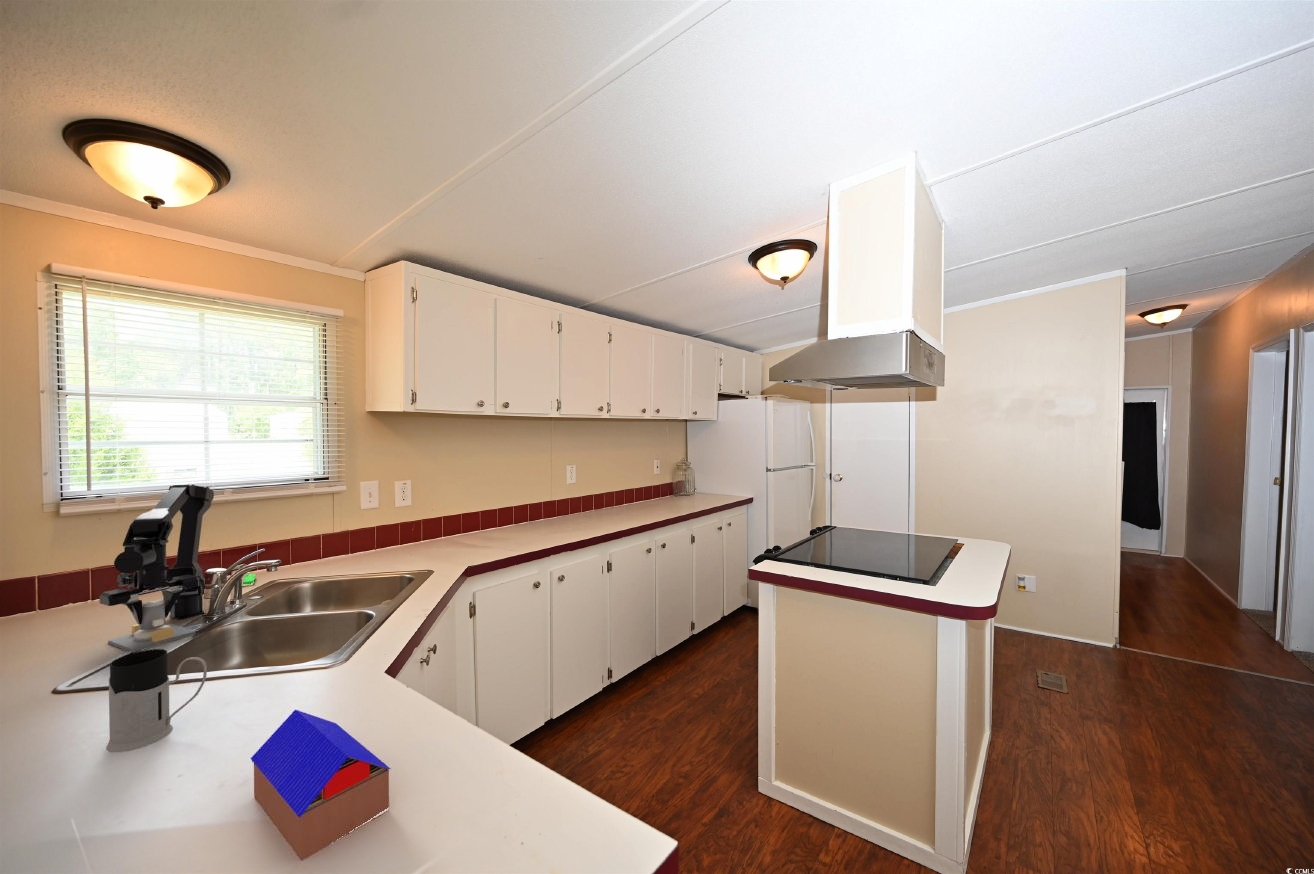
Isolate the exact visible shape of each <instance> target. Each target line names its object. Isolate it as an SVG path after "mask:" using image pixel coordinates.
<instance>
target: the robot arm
mask: <svg viewBox="0 0 1314 874" xmlns="http://www.w3.org/2000/svg"><path fill="white" fill-rule="evenodd" d="M214 498H215V492H214V490H213V489H211V488H210V487H209V486H200V485H195V484H191V483H174V484H171V485H169V487H168V490H167V492H166V493H165V495H164V496H163V497H162V498H161V499H160V500H159V501H158V502H157V504H156V505H155V506H154V507H153V508H152V509H151V510H149V511H146V512H144V513H141V514H140V515H138V516H137V517H136V518H135V519H134V520H132V522H131V523H130V525H129V528H128V530H127V533H126V535H125V538H124V540H123V542H122V547H124V549H123V551H122V552H121V553H119V554H117V556H116V557H115V559H114V561H113V564H114V565H113V566H114V568H115V569H116V570H117V571H118V572H120V573H119V574H117V578H116V579H117V581H116V582H117V586H118V587H125V586H127V589H125V588H118V589H117V588H116V589H112V590H107V591H103V592H102V593H101V594H100V595H99V604H101V605H103V606H104V605H105V606H108V607H113V606H118V605H123V606H126V607H127V608H128V610H129V611H130V612H131V614H132V616H133V618H134V620H135V622H136V624H139V625H140V624H142V603H143V600H141V599H139V597H140V596H144V595H148V594H153V593H156V592H160V591H161V593H162V597H163V599H162V600H163V601H164V602H165V619H167V618H168V616H169V618H172V619H175V620H178V621H179V620H180V621H181V620H186V619H190V618H193V617H196V616H200V615H204V614H203V613H204V611H205V610H204V608H203V607H204V605H203V604H204V603H203V602H204V601H203V597H204V596H203V595H205V594H204V589H205V580H206V578H205V577H204V576H203V575H204V573H203V572H204V571H203V569H202V567H201V566H200V565H199V563H198V557H199V548H200V539H201V535H202V533H201V532H202V525H203V524H202V523H203V517H204V515H205V513H207V512H208V510H209V509H210V508H211V506H212V501H213V500H214ZM178 512H180V514H181V516H182V517H181V523H180V532H179V539H178V546H177V553H176V561H175V564H174V565H172V567H171V568H170V567H169V565H167V544H168V543H169V542H170V541H169V536H170V535H171V532H172V530H173V528H174V525H173V521H172V520H173V519H174V517H175V516H176V515H177V514H178ZM129 589H130V590H129Z"/></svg>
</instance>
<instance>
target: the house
mask: <svg viewBox="0 0 1314 874" xmlns="http://www.w3.org/2000/svg"><path fill="white" fill-rule="evenodd" d="M250 760H251V762H252V763H253V797H254V799H255V800H256V801H257V803H258V804H259V806H260V807H261V808H262V810H263V811H264V812H265V813H266V815H267V816H268V818H269V819H270V820H271V822H272V823H273V824H274V825H275V827H276V828H277V830H278V831H279V832H280V834H281V835H282V836H283V838H284V839H285V841H286V842H287V843H288V845H289V846H290V848H292V850H293V851H294V853H295V854H296V855H297V857H298V858H299V859H300V861H304V860H306V859H308V858H309V857H311V856H313V855H315V854H316V853H318V852H320V851H321V849H322V850H323V849H325V848H327V847H329V846H330V845H332V844H333V843H332V842H334V843H335V842H337V841H338V840H337V839H339V838H341V837H342V836H344V835H345V834H347V833H349V832H350V831H352V830H353V829H355V828H356V827H358V826H360V825H362V824H363V823H365V822H367V821H368V820H370V819H371V818H373V817H374V816H376V815H377V814H379V813H380V812H382V811H384V810H385V809H387V808H388V807H389V808H390V774H389V773H390V770H391V771H392V770H393V769H392V768H390V767H389V766H388V765H387V764H386V763H384V762H383V761H382V759H379V757H378V756H376V755H375V754H374V753H373V752H371V751H370V750H369V749H368V748H366V747H365V746H364V745H363V744H362V743H360V742H359V741H358V740H357V739H356V738H354V737H353V736H352V735H351V734H350V733H349V732H347V731H346V730H345V729H343V728H342V726H340V725H339V724H337V723H336V722H333V721H330V720H328V719H324V718H323V717H322V718H321V717H318V716H317V715H312V714H310V713H307V712H304V711H300V710H297V709H294V710H293V711H292V712H291V714H290V715H288V717H287V718H286V719H284V721H283V722H282V723H281V724H280V725H279V726H278V728H276V729H275V731H274V732H273V734H271V735H270V736H269V737H268V738H267V740H266V741H265V742H264V743H263V744H262V745H261V746H260V747H259V748H258V749H257V751H256V752H255V753H254V754H253V755H252V756H251V757H250ZM340 768H341V769H340ZM349 834H350V833H349ZM344 837H345V836H344ZM342 838H343V837H342ZM342 838H341V839H342ZM336 840H337V841H336ZM339 840H340V839H339ZM331 843H332V844H331ZM329 844H330V845H329ZM326 846H327V847H326ZM324 847H325V848H324ZM319 850H320V851H319ZM314 853H315V854H314Z"/></svg>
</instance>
